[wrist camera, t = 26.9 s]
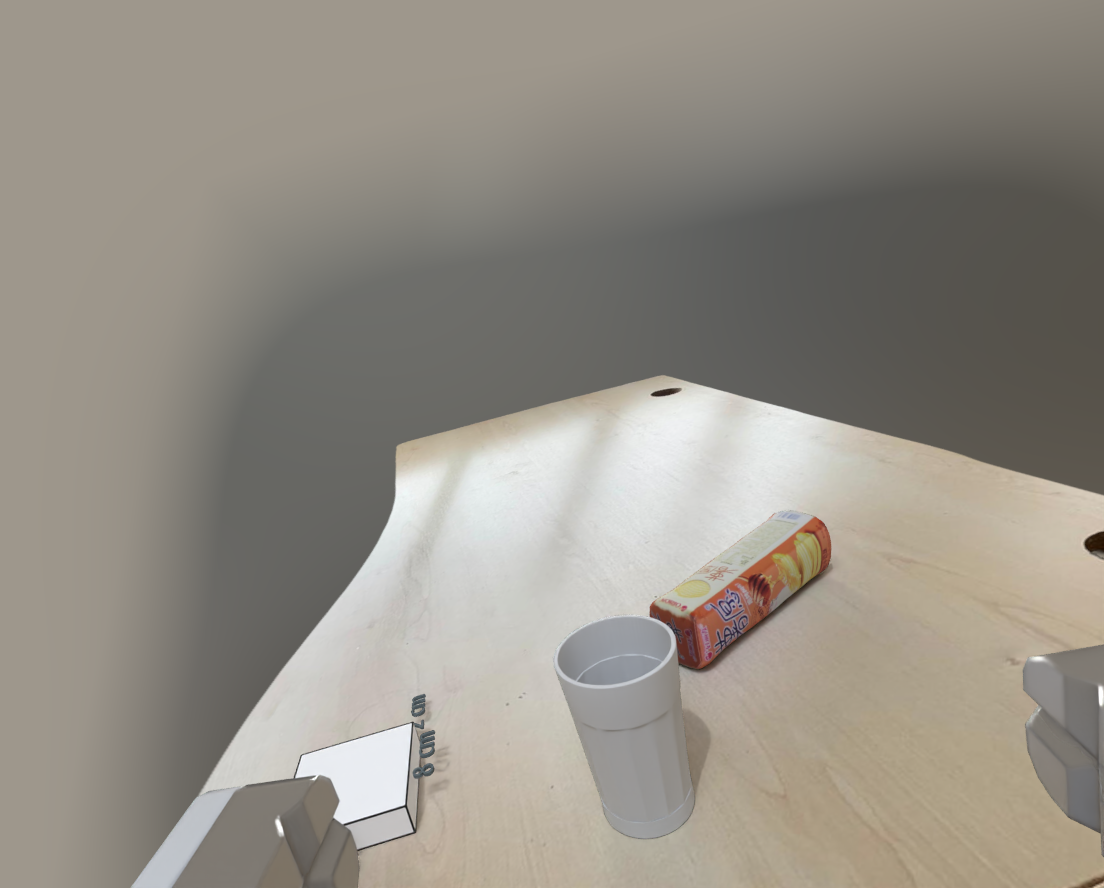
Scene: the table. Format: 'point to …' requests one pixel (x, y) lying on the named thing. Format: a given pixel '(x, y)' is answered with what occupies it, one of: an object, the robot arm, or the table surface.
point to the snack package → (743, 585)
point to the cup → (630, 720)
